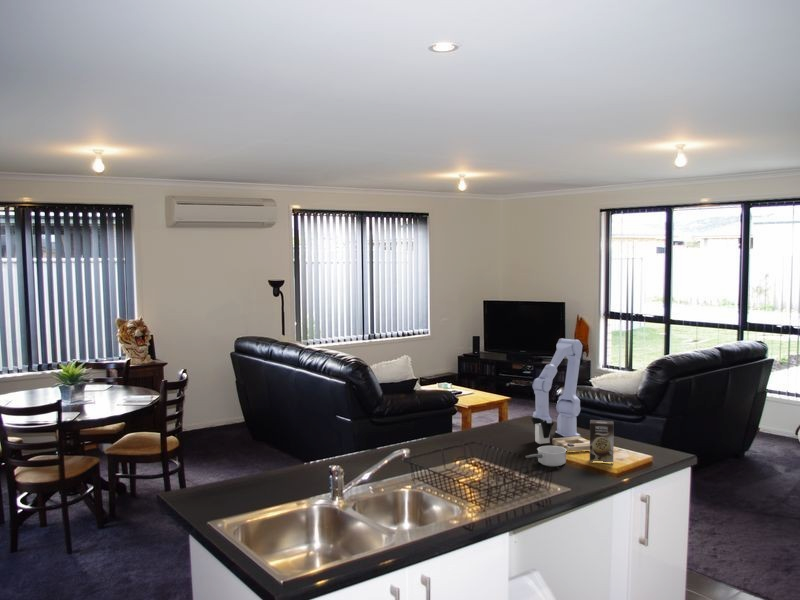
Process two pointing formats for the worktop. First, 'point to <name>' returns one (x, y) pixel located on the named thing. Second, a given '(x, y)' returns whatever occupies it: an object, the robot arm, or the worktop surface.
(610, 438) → the coffee box
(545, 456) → the saucepan
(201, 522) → the worktop surface
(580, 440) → the socket
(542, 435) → the plug
